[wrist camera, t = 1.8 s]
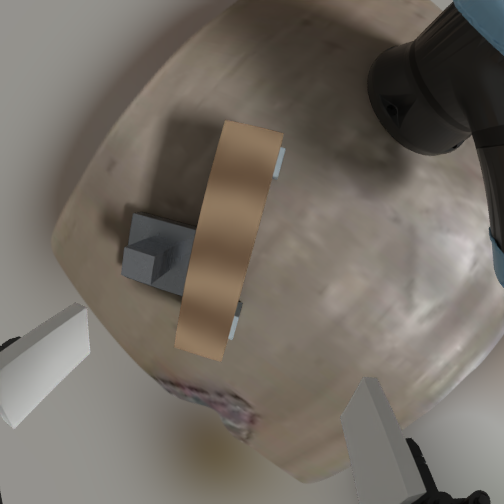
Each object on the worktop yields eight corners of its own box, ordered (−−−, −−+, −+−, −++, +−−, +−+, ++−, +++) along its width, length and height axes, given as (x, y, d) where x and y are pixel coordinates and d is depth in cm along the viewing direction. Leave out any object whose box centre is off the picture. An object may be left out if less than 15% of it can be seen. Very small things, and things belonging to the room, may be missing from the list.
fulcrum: (140, 211, 31) (110, 217, 24) (200, 227, 31) (181, 237, 24) (131, 271, 33) (102, 289, 26) (187, 290, 33) (167, 313, 26)
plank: (232, 130, 25) (225, 119, 21) (282, 142, 24) (283, 133, 21) (185, 329, 29) (174, 346, 26) (227, 342, 29) (221, 361, 25)
